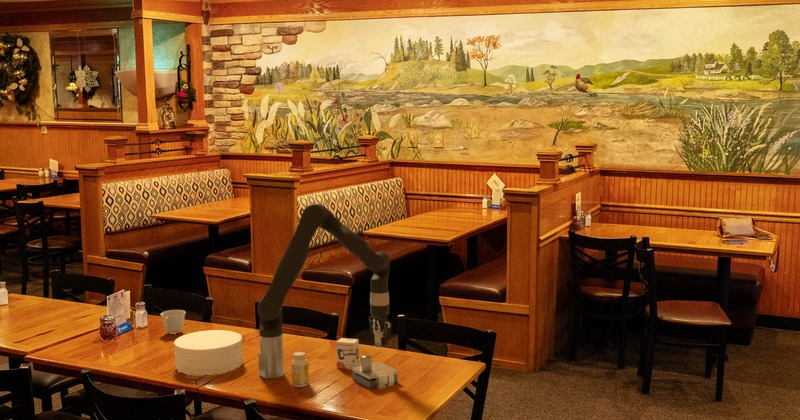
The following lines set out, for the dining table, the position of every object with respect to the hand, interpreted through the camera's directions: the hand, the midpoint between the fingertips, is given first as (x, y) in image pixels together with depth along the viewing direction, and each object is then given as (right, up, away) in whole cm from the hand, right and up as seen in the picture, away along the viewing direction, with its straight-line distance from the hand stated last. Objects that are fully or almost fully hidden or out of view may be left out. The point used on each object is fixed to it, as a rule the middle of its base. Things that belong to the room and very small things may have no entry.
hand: (380, 344), depth 336 cm
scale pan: (-2, -12, 0) cm, 12 cm away
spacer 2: (0, -1, 0) cm, 0 cm away
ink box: (-14, -13, +18) cm, 26 cm away
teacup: (-102, -6, +70) cm, 124 cm away
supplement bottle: (-32, -16, -2) cm, 35 cm away
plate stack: (-73, -13, +24) cm, 78 cm away
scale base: (-2, -15, -1) cm, 15 cm away
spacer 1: (-6, -10, -3) cm, 12 cm away
